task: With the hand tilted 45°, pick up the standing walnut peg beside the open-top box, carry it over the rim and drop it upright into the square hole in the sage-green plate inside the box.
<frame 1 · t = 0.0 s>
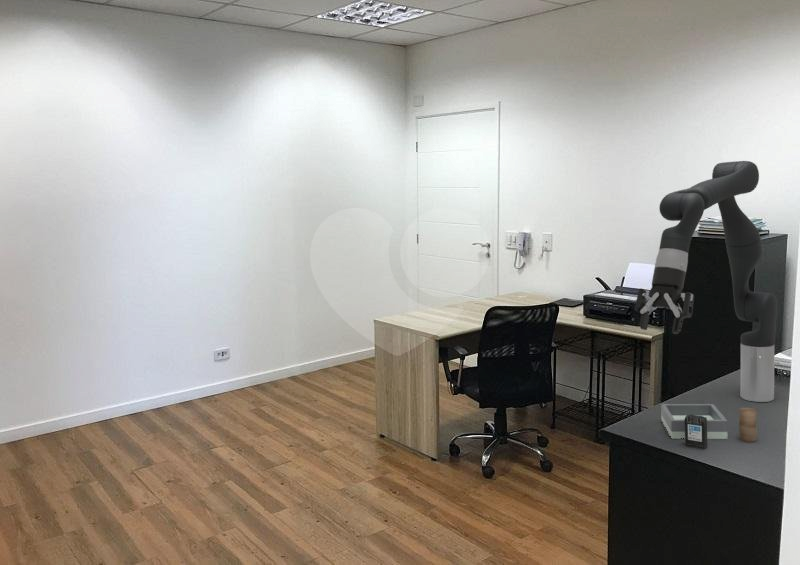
hand: (658, 331, 169), 31 cm above the table, tool tilted 20°, fingers open, 8 cm apart
ink cartridge: (695, 446, 175), on the table
peg: (747, 439, 177), on the table
socket box: (693, 429, 186), on the table
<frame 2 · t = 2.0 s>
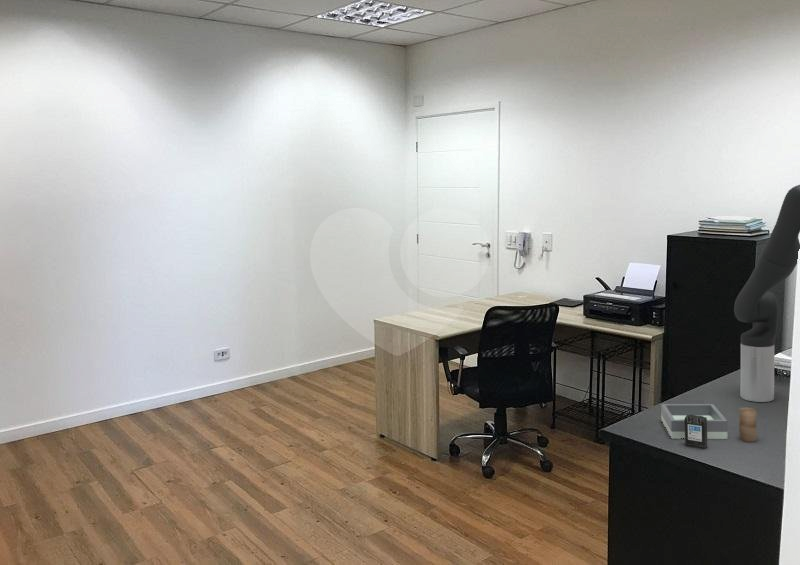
hand: (798, 359, 167), 23 cm above the table, tool tilted 45°, fingers open, 8 cm apart
nothing on the table moved.
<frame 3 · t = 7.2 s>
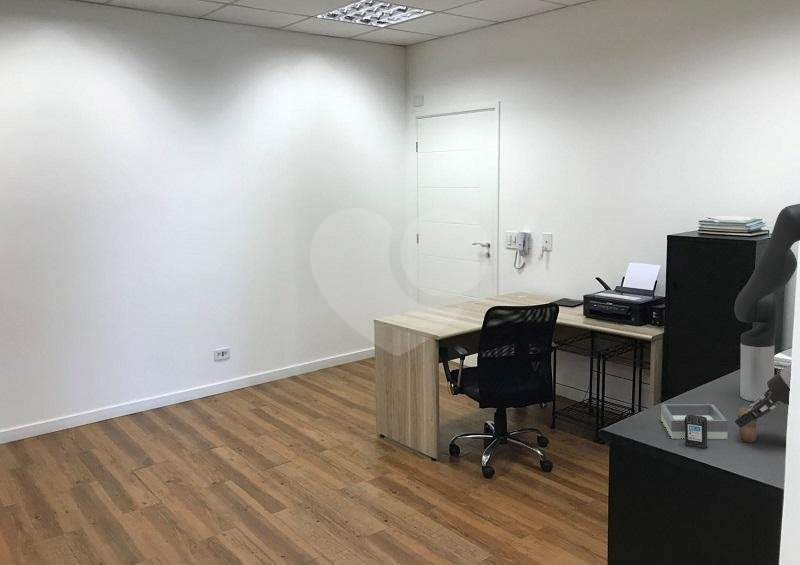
hand: (739, 421, 177), 5 cm above the table, tool tilted 45°, fingers closed on peg, 4 cm apart
peg: (747, 439, 177), on the table, touching gripper
everything else where it was.
when the fingers open (5 cm above the table, at t = 14.3 s): peg stays where it is, resting in socket box.
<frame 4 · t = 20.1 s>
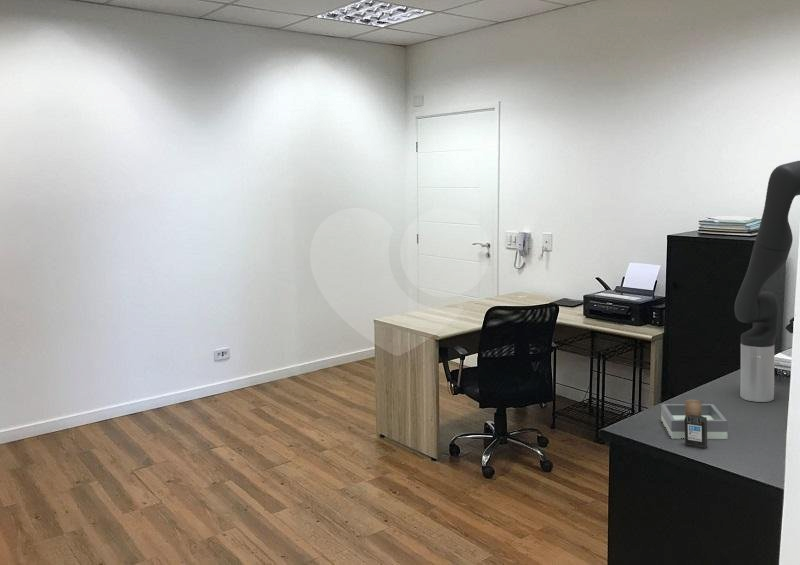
hand: (790, 327, 176), 29 cm above the table, tool tilted 45°, fingers open, 8 cm apart
peg: (693, 429, 186), resting in socket box
everything else where it was.
at the end: peg 0.1 cm off-centre on the socket box, point 0.0 cm above the socket box's base; peg tilted 0°; the gripper is holding nothing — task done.
